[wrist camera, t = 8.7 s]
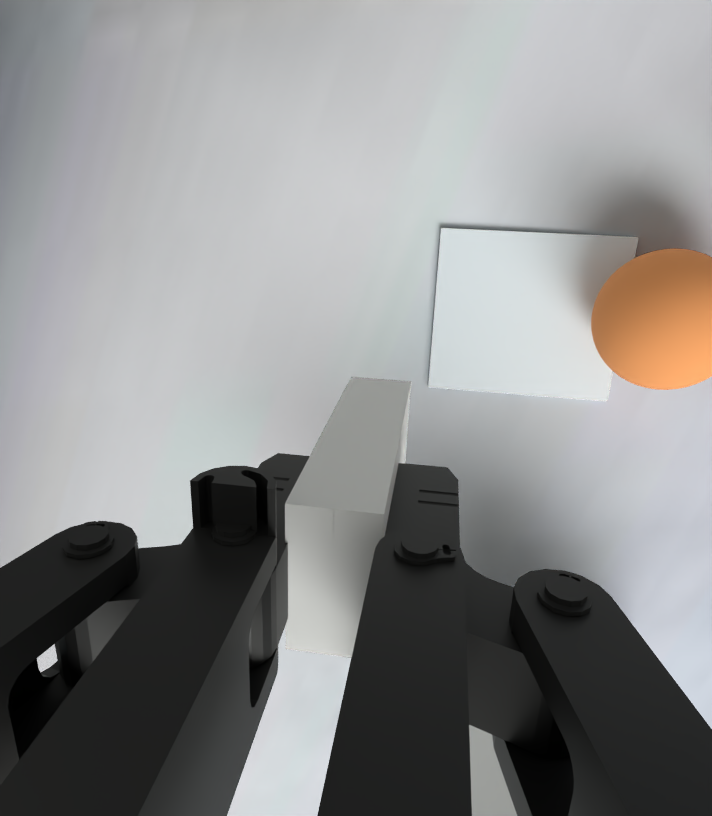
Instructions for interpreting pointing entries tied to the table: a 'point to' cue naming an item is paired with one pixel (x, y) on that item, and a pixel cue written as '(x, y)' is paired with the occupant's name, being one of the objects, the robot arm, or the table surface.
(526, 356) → the white square tile
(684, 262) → the ball
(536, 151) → the table surface
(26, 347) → the table surface
